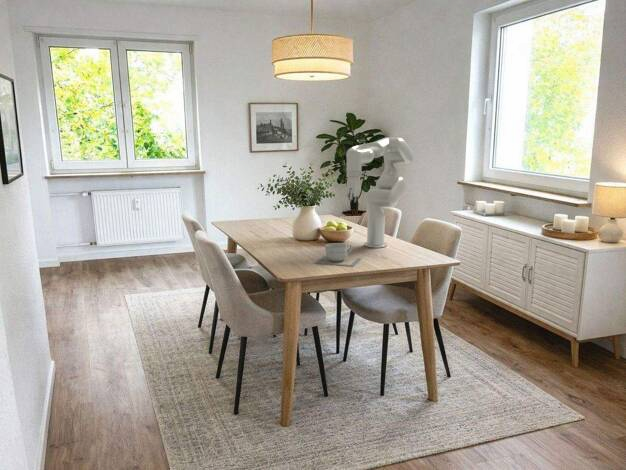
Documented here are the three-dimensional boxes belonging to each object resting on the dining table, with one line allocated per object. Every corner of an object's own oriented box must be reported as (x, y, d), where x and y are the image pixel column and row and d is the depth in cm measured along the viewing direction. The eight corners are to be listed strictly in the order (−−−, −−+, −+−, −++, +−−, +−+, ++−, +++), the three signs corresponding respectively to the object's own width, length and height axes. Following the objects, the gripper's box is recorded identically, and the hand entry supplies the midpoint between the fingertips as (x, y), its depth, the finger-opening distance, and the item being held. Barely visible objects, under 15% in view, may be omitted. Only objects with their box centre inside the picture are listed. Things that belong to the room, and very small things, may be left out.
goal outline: (323, 255, 266) (323, 255, 266) (361, 259, 259) (361, 258, 259) (313, 263, 251) (313, 262, 251) (353, 266, 245) (353, 266, 245)
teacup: (327, 263, 251) (327, 247, 249) (323, 258, 261) (323, 242, 260) (355, 262, 254) (356, 246, 252) (349, 256, 264) (350, 241, 262)
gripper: (351, 172, 272) (350, 207, 275) (342, 175, 258) (342, 211, 262) (365, 172, 269) (364, 208, 273) (357, 175, 255) (356, 212, 259)
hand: (353, 209), depth 267 cm, fingers closed
